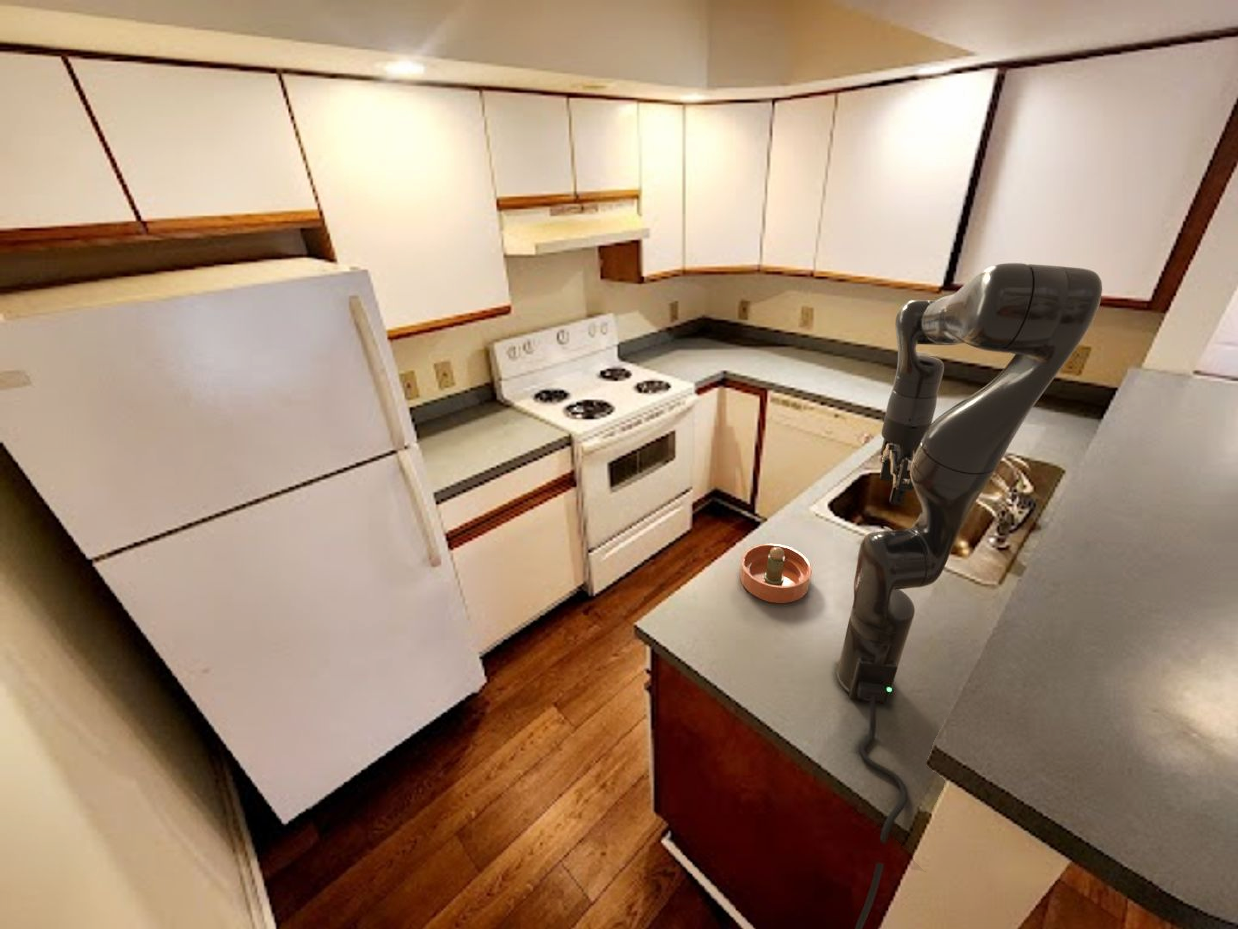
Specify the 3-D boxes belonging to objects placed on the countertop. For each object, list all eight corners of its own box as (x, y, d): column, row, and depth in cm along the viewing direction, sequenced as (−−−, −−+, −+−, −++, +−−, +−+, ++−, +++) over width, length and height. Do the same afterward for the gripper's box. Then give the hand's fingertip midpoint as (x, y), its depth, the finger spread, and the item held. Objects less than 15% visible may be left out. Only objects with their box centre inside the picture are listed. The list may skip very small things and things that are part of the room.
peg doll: (784, 586, 120) (788, 555, 116) (764, 584, 121) (767, 553, 117) (783, 573, 124) (787, 543, 120) (763, 571, 125) (767, 541, 121)
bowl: (811, 608, 115) (814, 591, 113) (739, 600, 118) (741, 583, 116) (805, 563, 128) (807, 547, 125) (740, 557, 131) (741, 541, 128)
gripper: (878, 398, 102) (862, 472, 110) (895, 430, 90) (877, 510, 98) (920, 400, 100) (902, 474, 108) (944, 433, 88) (921, 513, 96)
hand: (890, 491), depth 103 cm, fingers open, 8 cm apart
